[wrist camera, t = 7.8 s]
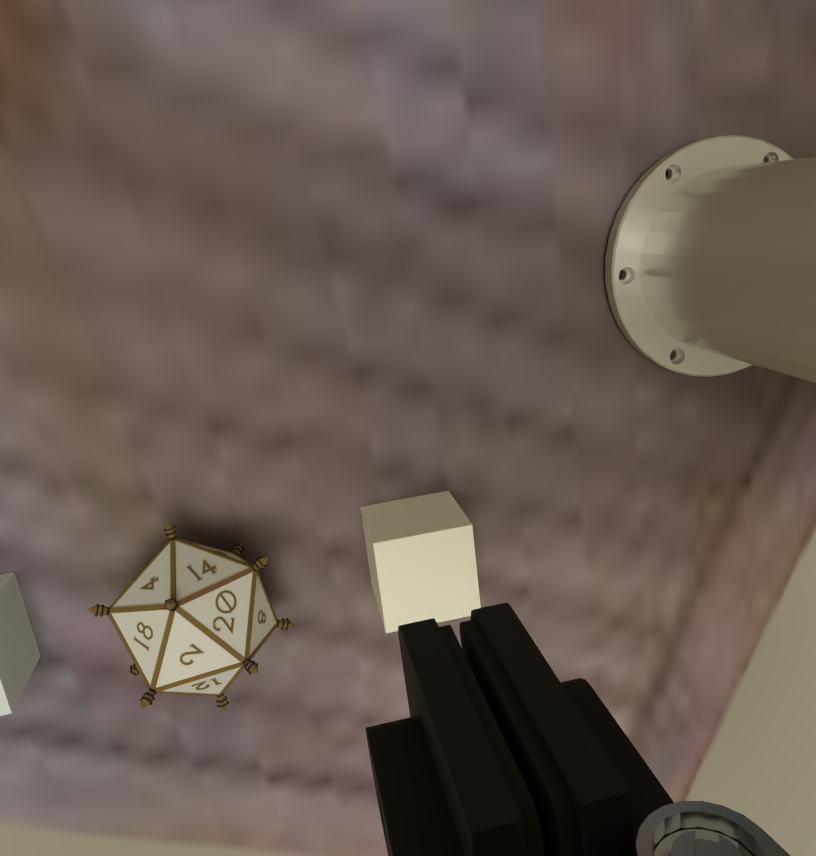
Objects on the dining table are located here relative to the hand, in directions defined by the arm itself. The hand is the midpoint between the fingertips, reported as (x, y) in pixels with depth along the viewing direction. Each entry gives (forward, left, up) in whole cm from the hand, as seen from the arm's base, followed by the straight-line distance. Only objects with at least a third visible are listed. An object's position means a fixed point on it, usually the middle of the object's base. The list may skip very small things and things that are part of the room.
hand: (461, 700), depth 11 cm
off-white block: (-3, +11, -29) cm, 31 cm away
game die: (+8, +11, -29) cm, 32 cm away
